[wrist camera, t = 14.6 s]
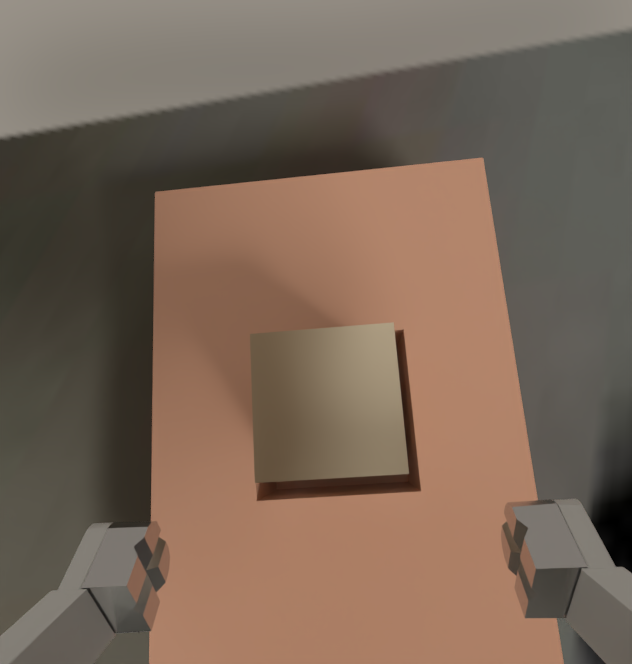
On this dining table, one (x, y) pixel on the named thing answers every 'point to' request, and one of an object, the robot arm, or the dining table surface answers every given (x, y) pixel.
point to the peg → (327, 404)
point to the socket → (353, 492)
